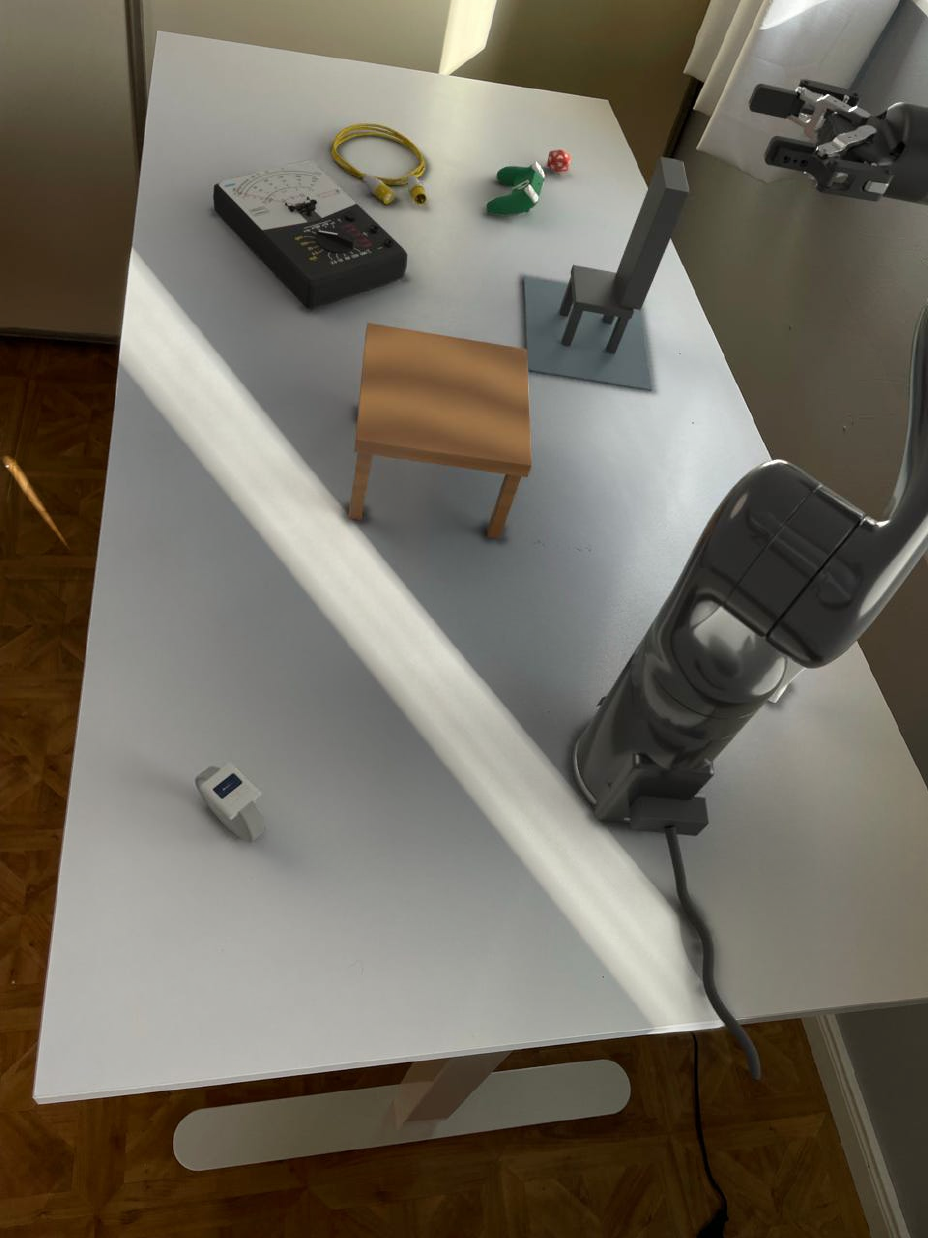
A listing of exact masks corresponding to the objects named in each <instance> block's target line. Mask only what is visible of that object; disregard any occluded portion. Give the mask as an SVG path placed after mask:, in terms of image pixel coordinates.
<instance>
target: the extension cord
mask: <svg viewBox="0 0 928 1238" xmlns="http://www.w3.org/2000/svg"><path fill="white" fill-rule="evenodd" d="M364 130H365V131H366V132H358V133H354V132H356V131H364ZM367 131H368V132H367ZM369 131H375V132H369ZM351 133H353V134H351ZM382 133H383V134H382ZM348 134H350V135H348ZM362 136H363V137H364V136H372V137H373V136H376V137H380V138H384V139H387V140H388V139H389V140H391V141H394V142H395V143H398V144H400V145H402V146H404V147H406V148H407V149H409V150H410V151H411V152H412V153H414V155H415V156H416V157H417V159H418V160H419V165H418V167H416V168H415V169H413V170H411V171H410V172H409V173H407V174H405V175H404V176H402V177H397V178H389V177H381V176H376V175H371V174H369V173H363V172H361V171H360V170H358V169H357V168H356V167H354V166H353V165H351V164H350V163H349V161H346V159H344V158H343V157H342V156H341V155H340V154H339V153H338V151H337V148H338V147H339V146H340V145H341V144H342V143H344V142H345V141H347V140H350V139H353V138H356V137H362ZM331 156H332V158H333V160H334V161H335V162H336V163H337V164H338V165H339V166H340V167H341V168H342V169H344V170H345V171H346V172H347V173H348V174H350V175H351V176H353V177H356V178H359V179H362V183H363V184H364V186H365V187H366V188H367V189H368V191H369V192H370V193H371V195H373V196H375V197H376V198H377V199H378V200H379V201H381V202H382V203H383V204H384V205H388V204H390V203H391V202H394V199H395V197H396V195H395V191H394V190H392V189H391V188H390V187H389V186H402V185H405V184H407V191H408V194H409V195H410V197H411V198H412V199H413V201H414V203H415V204H416V205H418V206H419V205H420V206H421V205H425V203H426V201H427V195H426V193H425V187H424V184H423V183H422V181H420V180H419V179H418V178H420V177H422V175H423V174H424V172H425V170H426V162H425V159H424V157H423V154H422V152H421V150H420V149H419V148H418V147H417V146H416V145H415V143H414V142H412V141H411V140H410V139H409V138H407V136H405V135H404V134H402V133H400V132H399V131H397V130H395V129H392V128H391V127H388V126H385V125H381V124H378V123H366V122H365V123H357V124H352V125H349V126H347V127H345V128H343V129H342V130H341V131H340V132H338V133H337V135H336V136H335V138H334V140H333V143H332V148H331Z"/></svg>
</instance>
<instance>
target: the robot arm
mask: <svg viewBox="0 0 928 1238" xmlns="http://www.w3.org/2000/svg"><path fill="white" fill-rule="evenodd" d="M862 98H863V94H861V93H860V92H859V91H856V90H852V89H848V88H845V87H840V86H837V85H832V84H828V83H825V82H820V81H816V80H812V79H808V78H800V80H799V81H798V84H797V86H796V89H789V88H784V87H779V86H775V85H770V84H765V83H758V84H756V85H755V87H754V89H753V91H752V93H751V96H750V98H749V99H748V108H749V111H750V112H752V113H756V114H760V115H765V116H770V117H775V118H779V119H784V120H787V119H788V120H789V121H791V122H793V123H795V124H797V126H800V127H802V128H803V133H804V135H805V136H806V137H808V138H809V139H811V140H813V141H815V142H816V143H818V144H819V145H818V146H817V147H816V144H815V143H814V142H811V141H807V140H806V141H805V140H801V139H796V138H791V137H788V136H787V137H786V136H781V135H774V136H773V137H772V138H771V139H770V140H769V142H768V144H767V147H766V149H765V151H764V153H763V159H764V163H765V164H766V165H768V166H772V167H776V168H782V169H787V170H792V171H796V172H797V171H798V172H801V173H804V176H805V177H806V178H808V179H810V180H813V181H814V180H816V182H817V183H816V185H815V189H816V191H818V192H819V193H822V194H827V195H833V196H839V197H846V198H850V199H851V198H852V199H856V200H863V201H869V202H874V203H875V202H876V203H877V202H879V201H880V200H881V199H882V197H883V198H887V199H892V200H897V201H901V202H907V203H913V204H915V205H916V204H918V205H921V206H922V205H923V206H925V207H926V206H927V207H928V107H927V106H923V105H918V104H914V103H910V102H905V101H899V102H896V103H894V104H892V105H891V106H889V107H888V108H887V109H886V110H885V111H883V112H882V113H880V114H878V115H874V114H871V113H870V112H868V111H867V110H865V109H863V108H861V107H860V106H858V105H859V103H860V102H861V100H862ZM809 116H810V117H809ZM822 120H824V121H823V123H822ZM821 123H822V125H821ZM820 125H821V127H820ZM844 176H845V177H846V178H845V179H844V180H843V181H842V182H839V181H837V182H836V181H835V180H836V179H837V178H841V177H844ZM909 359H910V360H909V371H908V391H907V421H906V430H905V431H906V432H905V440H904V447H903V452H902V457H901V461H900V466H899V469H898V474H897V477H896V480H895V483H894V487H893V490H892V491H891V495H890V497H889V499H888V502H887V505H886V506H885V509H884V512H883V514H882V516H881V518H880V519H879V520H878V519H875V518H874V517H871V516H870V515H867V513H866V512H864V511H863V509H861V508H859V507H858V506H857V505H855V504H854V503H852V502H850V501H849V500H847V499H846V498H844V497H843V496H842V495H840V494H839V493H837V492H836V491H834V490H833V489H832V488H831V487H829V486H827V485H826V484H824V483H822V482H821V481H820V480H819V479H817V478H816V477H815V476H813V475H811V474H810V473H809V472H807V471H805V469H802V468H801V467H799V466H798V465H796V464H795V463H793V462H790V461H789V460H786V459H781V458H780V459H779V458H778V459H771V460H768V461H764V462H762V463H760V464H759V465H757V466H756V467H753V468H752V469H750V470H749V471H748V472H746V474H744V475H743V476H742V477H741V478H740V479H739V480H738V481H737V482H736V483H735V484H734V485H733V486H732V487H731V488H730V489H729V491H728V492H727V493H726V495H725V496H724V498H723V499H722V501H721V502H720V503H719V504H718V506H717V507H716V508H715V510H714V511H713V512H712V515H711V516H710V517H709V519H708V521H707V523H706V525H705V527H704V528H703V529H702V532H701V534H700V535H699V537H698V539H697V541H696V543H695V545H694V547H693V548H692V550H691V552H690V555H689V556H688V559H687V560H686V562H685V564H684V566H683V569H682V571H681V572H680V574H679V576H678V578H677V580H676V582H675V584H674V586H673V587H672V589H671V591H670V593H669V594H668V596H667V598H666V599H665V601H664V602H663V604H662V606H661V607H660V609H659V611H658V613H657V615H656V616H655V617H654V619H653V621H652V623H651V624H650V626H649V628H648V629H647V631H646V632H645V634H644V636H643V637H642V639H641V640H640V642H639V643H638V645H637V647H635V650H634V651H633V653H632V655H631V656H630V657H629V659H628V661H627V662H626V664H625V665H624V667H623V669H622V671H621V672H620V674H619V675H618V677H617V678H616V680H615V681H614V683H613V685H612V686H611V688H610V689H609V691H608V693H607V695H606V696H605V695H604V696H603V697H601V699H600V700H599V702H598V703H597V705H596V707H598V709H597V710H596V712H595V714H594V715H593V717H592V719H591V720H590V722H589V724H588V725H587V727H585V729H584V730H583V731H582V733H581V734H580V736H579V737H578V739H577V740H576V743H575V745H574V748H573V752H572V760H571V761H572V762H571V765H572V772H573V776H574V780H575V782H576V785H577V787H578V788H579V790H580V792H581V793H582V795H583V797H585V799H586V800H587V801H588V802H589V803H590V804H591V805H592V807H593V811H594V818H595V819H596V820H598V821H607V822H617V823H625V824H630V830H631V831H634V832H635V831H637V832H647V833H659V834H665V838H666V842H667V846H668V851H669V857H670V862H671V865H672V869H673V875H674V880H675V889H676V893H677V898H678V900H679V902H680V905H681V907H682V909H683V911H684V913H685V914H686V916H687V918H688V919H689V920H690V922H691V923H692V925H693V927H694V928H695V930H696V932H697V935H698V937H699V938H700V939H699V940H700V941H701V942H700V943H701V947H702V968H701V969H702V974H701V977H702V983H703V988H704V992H705V994H706V997H707V999H708V1001H709V1003H710V1005H711V1007H712V1009H713V1010H714V1012H715V1014H716V1015H717V1016H718V1017H719V1019H720V1021H721V1022H722V1023H723V1024H724V1026H726V1028H727V1029H728V1030H729V1031H730V1033H731V1034H732V1035H733V1037H734V1038H735V1039H736V1041H737V1042H738V1044H739V1045H740V1047H741V1049H742V1050H743V1052H744V1054H745V1057H746V1061H747V1065H748V1072H749V1074H750V1077H751V1078H752V1079H753V1080H756V1081H757V1080H760V1079H761V1073H762V1072H761V1063H760V1058H759V1054H758V1051H757V1048H756V1047H755V1045H754V1043H753V1041H752V1039H751V1038H750V1036H749V1035H748V1033H747V1031H745V1029H744V1028H743V1027H742V1025H741V1024H740V1023H739V1022H738V1020H736V1019H735V1017H734V1016H733V1014H732V1013H731V1012H730V1011H729V1009H728V1008H727V1007H726V1005H725V1004H724V1002H723V1001H722V999H721V997H720V995H719V992H718V990H717V986H716V984H715V977H714V972H715V971H714V969H715V948H714V941H713V938H712V936H711V933H710V930H709V928H708V926H707V924H706V923H705V921H704V919H703V918H702V916H701V915H700V914H699V912H698V910H697V908H696V906H695V905H694V904H693V902H692V899H691V896H690V893H689V891H688V885H687V877H686V871H685V866H684V862H683V858H682V851H681V848H680V843H679V838H678V835H681V836H690V837H691V836H692V837H696V836H698V835H700V833H701V832H702V831H703V830H704V829H705V828H706V827H707V826H708V825H709V824H710V821H709V814H708V809H707V808H708V807H707V801H706V797H705V796H697V795H698V793H700V792H701V790H702V789H703V788H704V787H705V786H706V785H707V784H708V782H709V781H710V780H711V779H712V778H713V777H714V775H715V768H714V767H715V766H714V761H715V760H716V759H717V758H718V757H719V755H720V754H721V753H722V752H723V751H724V750H725V748H727V746H728V745H729V744H730V743H731V742H732V741H733V740H734V738H735V737H736V736H737V735H738V734H739V732H741V731H742V729H743V728H744V727H745V726H746V725H747V724H748V723H749V722H750V720H751V719H752V718H753V717H754V716H755V715H756V714H757V712H758V711H759V710H760V709H761V708H762V707H763V706H764V705H765V704H766V703H767V702H769V701H768V699H769V698H770V697H771V696H772V695H773V694H774V693H775V691H776V690H777V689H778V687H779V686H780V684H781V682H782V680H783V678H784V675H785V672H786V669H787V661H788V658H789V659H791V660H792V661H793V662H795V663H797V664H799V665H800V666H802V667H805V669H808V670H809V669H810V670H811V669H820V668H823V667H825V666H827V665H829V664H831V663H832V662H834V661H836V660H838V659H839V658H840V657H841V656H842V655H844V654H845V653H846V652H847V651H848V650H849V649H850V648H851V647H852V646H853V645H854V644H855V643H856V642H857V641H858V640H859V639H860V638H861V637H862V636H863V634H864V633H866V631H867V630H868V629H869V628H870V626H872V624H873V623H874V622H875V621H876V619H877V618H878V617H879V615H880V614H881V613H882V612H883V610H884V609H885V608H886V606H887V605H888V603H889V602H890V601H891V599H892V598H893V597H894V596H895V594H896V593H897V591H898V590H899V589H900V587H901V586H902V585H903V583H904V582H905V581H906V579H907V577H909V575H910V573H911V572H912V570H914V568H915V566H916V565H917V564H918V562H919V561H920V559H922V557H923V555H924V554H925V552H926V551H927V550H928V297H927V299H926V300H925V302H924V303H923V305H922V306H921V308H920V311H919V314H918V317H917V319H916V322H915V325H914V331H913V334H912V340H911V348H910V358H909Z"/></svg>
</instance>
